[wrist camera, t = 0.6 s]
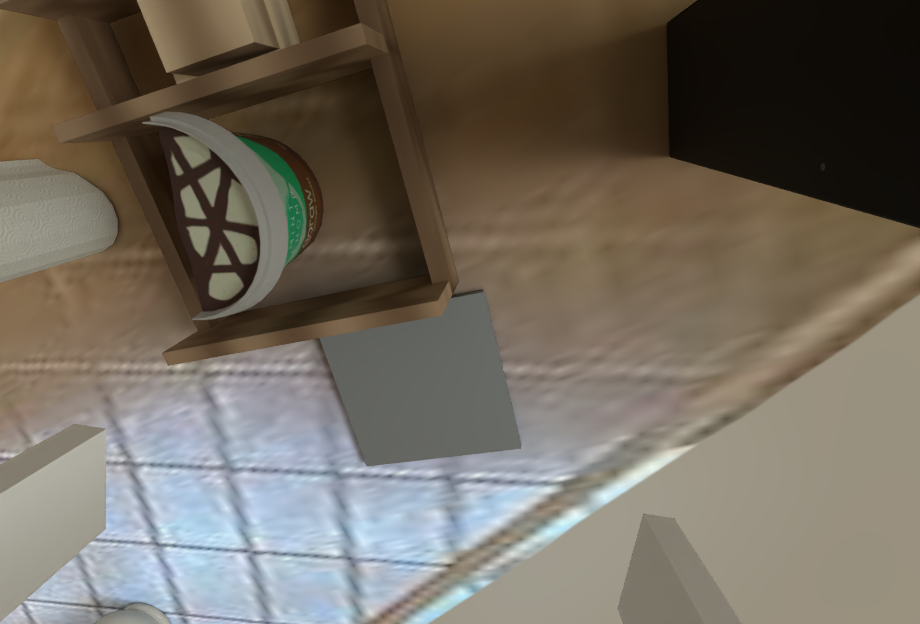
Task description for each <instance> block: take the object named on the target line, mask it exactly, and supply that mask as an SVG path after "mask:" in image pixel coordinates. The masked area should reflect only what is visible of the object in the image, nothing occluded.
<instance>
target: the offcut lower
mask: <svg viewBox="0 0 920 624" xmlns="http://www.w3.org/2000/svg"><path fill="white" fill-rule="evenodd" d="M264 2H265V5H266V8H267V11H268V14H269V17H270V20H271V23H272V26H273V29H274V32H275V35H276V38H277V41H278V44H279V47H280V49H278V50H281V49H284V48H287V47H290V46H293V45H296V44H299V43H300V40H299V37H298V34H297V31H296V27H295V24H294V21H293V18H292V15H291V11H290V8H289V5H288V2H287V0H264ZM278 50H275V51H278ZM275 51H272V52H275ZM272 52H269V53H272ZM269 53H267V54H269ZM264 55H266V54H264ZM261 56H263V55H261ZM258 57H260V56H258ZM255 58H257V57H255ZM252 59H254V58H252ZM249 60H251V59H249ZM246 61H248V60H246ZM243 62H245V61H243ZM240 63H242V62H240ZM237 64H239V63H237ZM234 65H236V64H234ZM231 66H233V65H231ZM229 67H230V66H229ZM226 68H227V67H226ZM223 69H224V68H223ZM220 70H221V69H220ZM217 71H218V70H217ZM214 72H215V71H214ZM211 73H212V72H211ZM208 74H209V73H208ZM173 75H174V78H175V81H176V83H177V84H179V83H182V82H185V81H188V80H191V79H194V78H197V76H189V75H181V74H173ZM205 75H206V74H205ZM202 76H203V75H202ZM199 77H200V76H199Z"/></svg>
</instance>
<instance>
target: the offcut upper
mask: <svg viewBox="0 0 920 624" xmlns="http://www.w3.org/2000/svg"><path fill="white" fill-rule="evenodd" d="M137 2H138V4H139V7H140V9H141V12H142V14H143V17H144V19H145V21H146V24H147V26H148V29H149V31H150V34H151V36H152V38H153V41H154V43H155V46H156V48H157V51H158V53H159V56H160V58H161V60H162V63H163V65H164V68H165V70H166V73H173V74H181V75H189V76H197V77H199V76H202V75H205V74H208V73H211V72H214V71H217V70H220V69H223V68H226V67H229V66H231V65H234V64H237V63H240V62H243V61H246V60H249V59H252V58H255V57H258V56H261V55H264V54H267V53H269V52H272V51H275V50H278V49H280V47H279V44H278V41H277V38H276V35H275V32H274V29H273V26H272V23H271V20H270V17H269V14H268V11H267V8H266V5H265V2H264V0H137Z"/></svg>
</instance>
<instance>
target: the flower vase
mask: <svg viewBox="0 0 920 624" xmlns="http://www.w3.org/2000/svg"><path fill="white" fill-rule="evenodd" d="M93 624H171V623H170V621H169V619H168V618H167V617H166V615H165V614H164V613H162V612H161V611H160V610H158V609H157V608H155V607H153V606H151V605H148V604H144V603H133V604H130V605H128V606H127V607H125V608H124V609H123V610H119V611H115V612H112V613H109V614H106V615H104V616H102V617H101V618H99V619H98V620H96V621H95V622H94V623H93Z"/></svg>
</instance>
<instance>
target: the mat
mask: <svg viewBox="0 0 920 624" xmlns="http://www.w3.org/2000/svg"><path fill="white" fill-rule="evenodd" d="M319 339H320V342H321V344H322V347H323V350H324V352H325V355H326V358H327V360H328V363H329V366H330V369H331V371H332V374H333V377H334V379H335V382H336V385H337V387H338V390H339V393H340V396H341V398H342V401H343V404H344V406H345V409H346V412H347V414H348V417H349V420H350V423H351V425H352V428H353V431H354V433H355V436H356V439H357V441H358V444H359V447H360V450H361V452H362V455H363V458H364V460H365V463H366V466H374V465H383V464H391V463H400V462H409V461H417V460H426V459H435V458H443V457H452V456H461V455H469V454H478V453H487V452H495V451H504V450H513V449H521V441H520V437H519V433H518V429H517V424H516V420H515V416H514V412H513V408H512V404H511V400H510V396H509V392H508V387H507V383H506V379H505V375H504V371H503V367H502V363H501V359H500V354H499V350H498V346H497V342H496V338H495V334H494V330H493V326H492V322H491V317H490V313H489V309H488V305H487V301H486V297H485V293H484V290H479V291H474V292H469V293H463V294H458V295H453V296H451V298H450V300H449V302H448V304H447V307H446V309H445V311H444V313H443V315H442V316H437V317H431V318H426V319H420V320H415V321H409V322H404V323H398V324H393V325H388V326H382V327H377V328H371V329H366V330H360V331H355V332H349V333H344V334H338V335H333V336H327V337H322V338H319Z"/></svg>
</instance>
